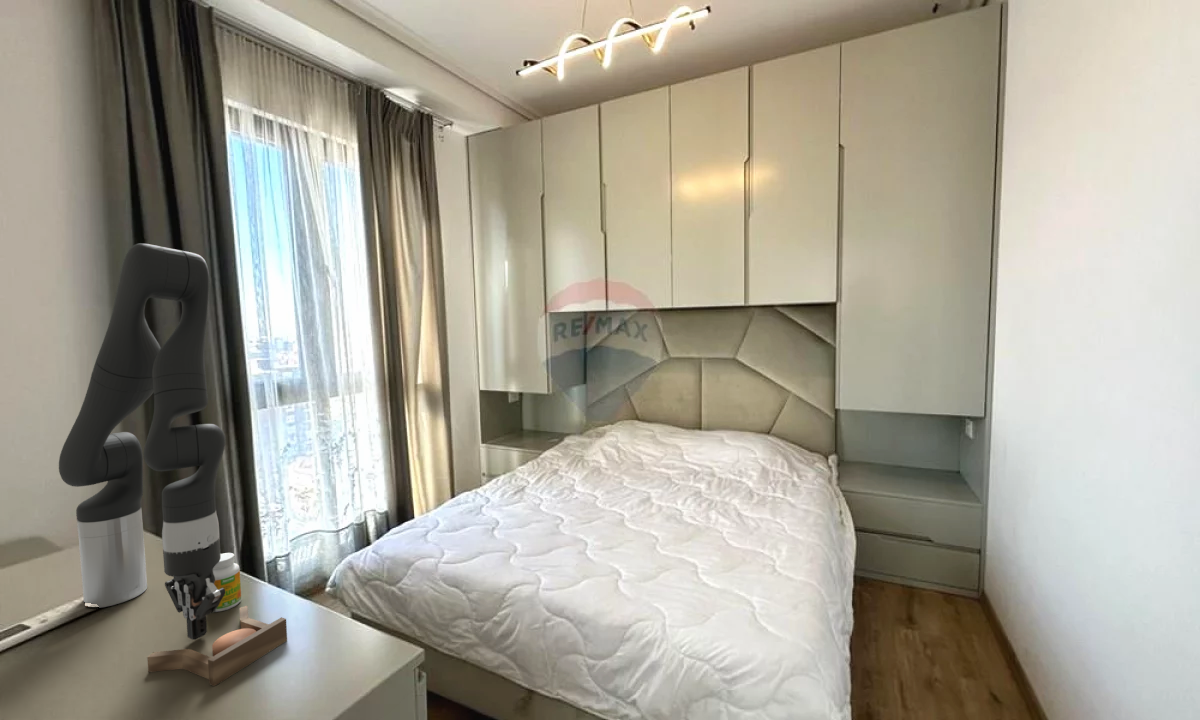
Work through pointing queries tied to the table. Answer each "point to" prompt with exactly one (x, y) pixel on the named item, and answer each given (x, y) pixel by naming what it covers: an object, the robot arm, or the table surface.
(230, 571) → the supplement bottle
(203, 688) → the table surface
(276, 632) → the dock
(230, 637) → the salmon orange rounded piece
